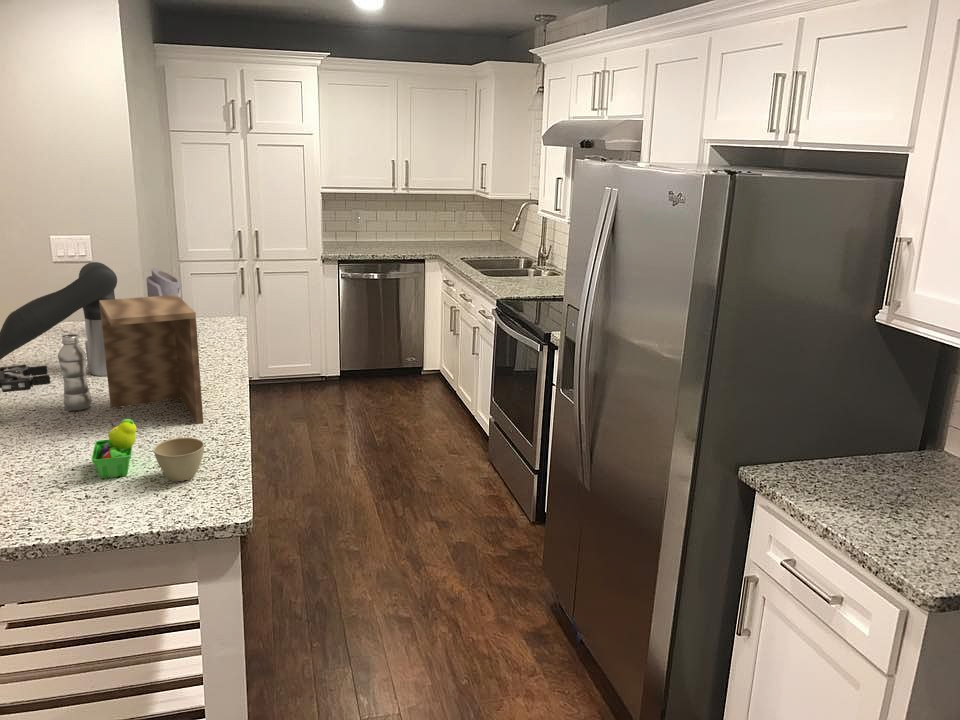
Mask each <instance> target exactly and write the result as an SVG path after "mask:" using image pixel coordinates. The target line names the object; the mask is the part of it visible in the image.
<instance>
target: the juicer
mask: <svg viewBox="0 0 960 720" xmlns="http://www.w3.org/2000/svg"><path fill="white" fill-rule="evenodd" d="M146 288H147V289H146V291H147V297H155V296H169V295H178V296H179V297H180V298H181V299H182V300H183V298H182V297H183V296H182V295H183V294H182V282H181V281H180V280H179V279H178V278H177V277H175V276H173V275H172V274H170V273H168V272H166V271H164V270H163V269H159V268H152V269H151V275H149V276H148V277H146Z"/></svg>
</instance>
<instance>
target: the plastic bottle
mask: <svg viewBox="0 0 960 720" xmlns="http://www.w3.org/2000/svg"><path fill="white" fill-rule="evenodd" d="M79 343H80V341H79V336H78V334H76V333H72V334H71V333H69V334H68V333H67V334H64V335H61V344H63V345H62V347H61V348H60V350H59V351H58V354H57V359H58V360H57V361H58V363H59V366H60V370H61V374H62V375H61V376H62V378H63V404H64V407H65V408H66V409H67V410H69V411H83V410H86V409H89V408H90V407H91V405H92V400H93V398H92V395H91V392H90V389H89V384H88V381H87V355H86V350H84V348H82V346H81V345H79Z"/></svg>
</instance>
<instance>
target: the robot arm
mask: <svg viewBox="0 0 960 720" xmlns="http://www.w3.org/2000/svg"><path fill="white" fill-rule="evenodd" d="M117 285H118V277H117V275H116V273H115V271H114V270H113V269H111V268H110V267H109V266H108V265H106V264H104V263H102V262H99V261H92V262H88V263H86V264H85V265H83V266H82V268H81V269H80V270H79V273H78V278H77V279H75V280H73V282H71V283H70V284H68V285H66V286H65V287H63V288H61V289H59V290H57V291H54V292H51V293H48V294H45V295H43V296H40V297H37V298H35V299H33V300H31V301H29V302H27V303H25V304H23V305H21V306H20V307H18V308H17V309H15V310H14V311H12V312H10V313H9V315H7V317H6V318H5V320H4V322H3V323H2V326H1V329H0V361H1V360H2V359H3V358H4V357H6V356H8V355H10V354H12V353H13V352H14V351H16V350H19V348H21V347H23V346H25V345H27V344H28V343H31V342H32V341H33V340H35V339H36V338H38V337H40V336H41V335H43V334H45V333H46V332H48V331H50V330H51V329H52V328H54V327H55V326H57V325H59V324H60V323H62V322H63V321H64V320H66V319H67V318H69V317H70V316H72V315H73V314H74V313H76V312H78V310H81V309H82V311H83V316H84V323H85V324H84V325H85V331H86V333H85V334H86V341H85V342H84V343H85V344H84V345H85V353H86V365H87V371H88V373H90V374H91V375H93V376H99V377H100V376H101V377H102V376H103V377H105V376H106V377H107V369H106V360H105V350H104V341H103V332H102V322H101V313H100V304H99V300H112V299H116V297H115V295H116V294H115V289H116V287H117ZM49 384H51V377H50V375H49V374H48V367H47V366H46V365H38V366H28V365H27V364H20V365H10V366H9V365H8V366H1V367H0V389H1V392H2V393H7V392H8V393H12V392H19V391H29V390H31V388H34V386H41V385H49Z"/></svg>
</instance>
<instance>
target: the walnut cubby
mask: <svg viewBox="0 0 960 720" xmlns="http://www.w3.org/2000/svg"><path fill="white" fill-rule="evenodd" d="M99 304H100V313H101V322H102V332H103V341H104V350H105V360H106V369H107V376H106V378H107V387H108V388H107V389H108V396H109V404H110V405H109V406H110V409H115V408H114V407H117V408H122V407H121V406H124V407H130V406H129V405H132V406H137V404H139V405H146V404H152V403H153V404H154V403H161V402H167V401H168V402H169V401H175V400H181V402H182V404H183V405H184V406H185V408H186V409H187V411H188V412H189V414H190V415H191V417H192V418H193V420H194V421H195V422H196V424H197V425H199V424H204V414H203V399H202V398H203V396H202V385H201V372H200V371H201V370H200V357H199V343H198V342H199V341H198V336H197V333H198V329H197V328H198V326H197V316H196V311H195V310H193V308H191V306H190V305H188V304H187V303H186V302H185V301H184V300H183V298H182V299H181V298H180V297H179V296H178V295H169V296H155V297H148V296H142V297H130V298H127V297H126V298H115V299H112V300H99ZM145 403H146V404H145Z"/></svg>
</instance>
